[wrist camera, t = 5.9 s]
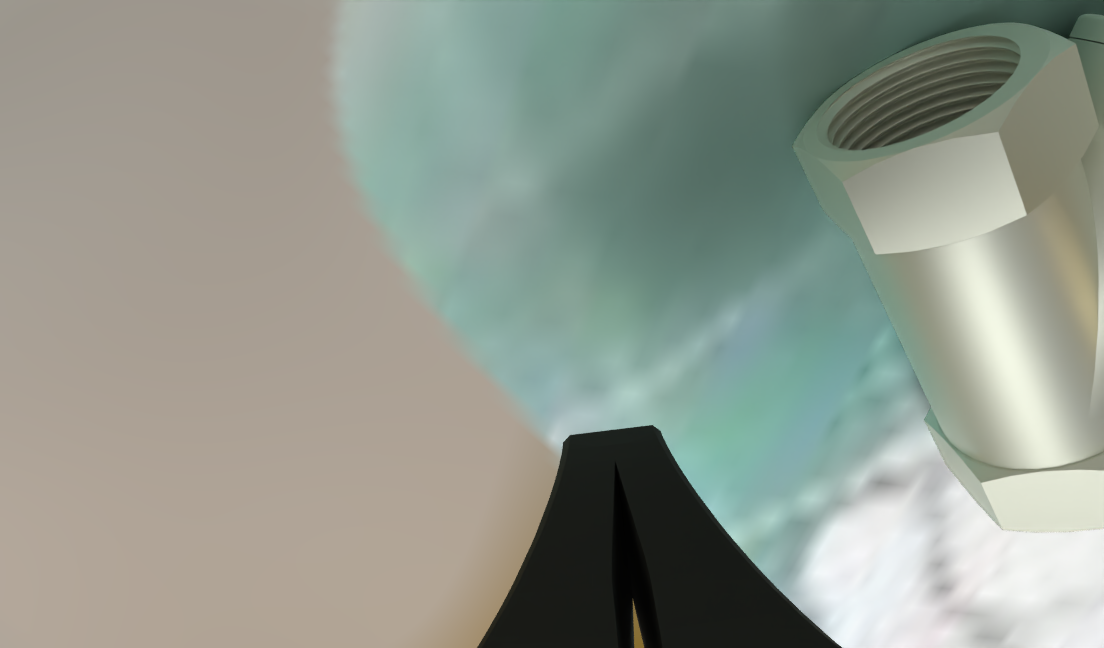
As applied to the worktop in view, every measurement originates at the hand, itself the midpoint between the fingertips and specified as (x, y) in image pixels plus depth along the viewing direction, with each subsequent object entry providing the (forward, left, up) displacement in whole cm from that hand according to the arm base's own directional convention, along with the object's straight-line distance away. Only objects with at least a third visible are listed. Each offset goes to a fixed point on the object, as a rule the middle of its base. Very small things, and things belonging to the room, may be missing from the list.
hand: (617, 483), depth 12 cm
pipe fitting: (+2, -8, -5) cm, 9 cm away
